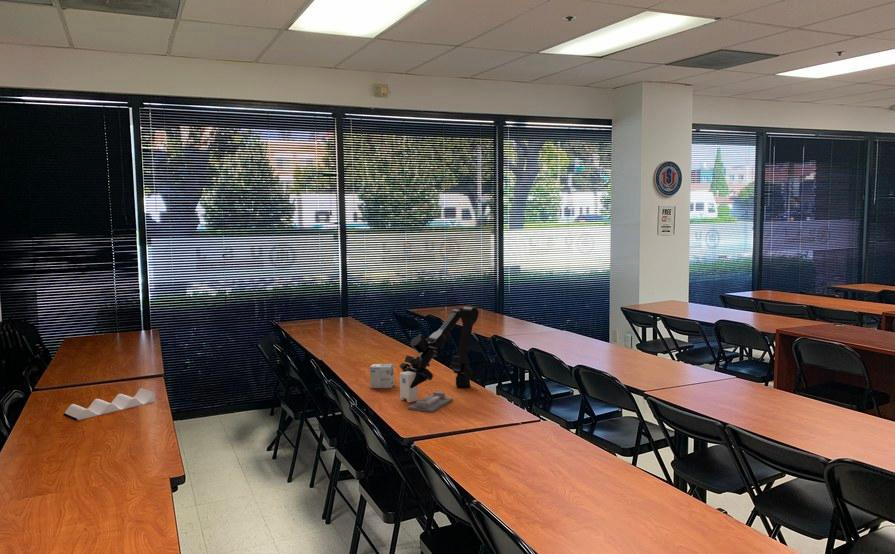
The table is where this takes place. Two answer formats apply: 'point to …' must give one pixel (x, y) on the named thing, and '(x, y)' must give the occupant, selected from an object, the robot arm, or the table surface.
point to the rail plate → (431, 402)
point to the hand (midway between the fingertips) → (406, 386)
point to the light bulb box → (381, 376)
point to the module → (408, 387)
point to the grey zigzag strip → (110, 405)
